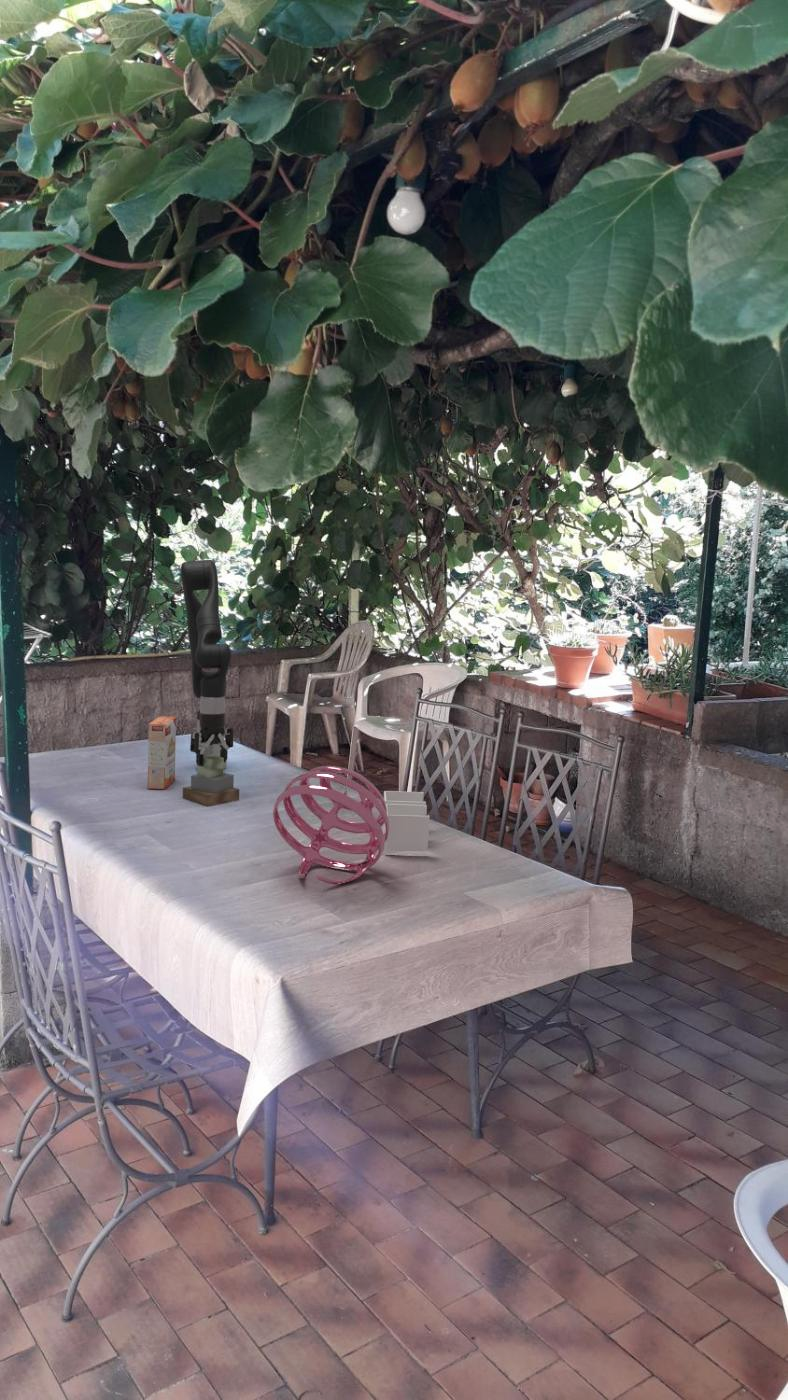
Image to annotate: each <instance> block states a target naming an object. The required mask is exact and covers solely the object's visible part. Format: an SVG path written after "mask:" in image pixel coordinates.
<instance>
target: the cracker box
mask: <svg viewBox="0 0 788 1400" xmlns="http://www.w3.org/2000/svg"><path fill="white" fill-rule="evenodd" d="M176 737H177V717H175V716H165V715H164V716H161V715H160V716H158V717H157V718H155V719H153V720H152V721H151V722H149V723H148V737H147V738H148V739H147V740H148V742H147V743H148V744H147V745H148V747H147V748H148V749H147V752H148V753H147V790H148V789H150V790H161V789H164V790H166V789H167V788H168V787H169V786H170V785H171V784H172V783H173V782H174V781H175V780H176V778H175V777H176V745H177V742H176V741H177V738H176Z"/></svg>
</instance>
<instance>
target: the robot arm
mask: <svg viewBox="0 0 788 1400" xmlns="http://www.w3.org/2000/svg"><path fill="white" fill-rule="evenodd" d="M216 565H217V564H216V563H215V561H214V560H212V559H200V560H199V559H198V560H191V561H185V562H182V563H181V566H180V579H181V584H182V591H183V597H184V602H185V610H186V622H187V633H188V634H187V635H188V636H187V637H188V642H189V650H190V651H189V652H190V656H191V657H190V659H191V677H192V678H191V682H192V692H193V695H194V697H195V698H196V699H199V710H197V712H196V731H191V733H190V747H189V750H190V752H191V753H195V756H196V757H195V760H196V762H195V763H196V764H195V765H196V767H195V768H196V771H197V770H198V766H203V765H204V756H207V755H215V756H219V757H223V758H224V770H225V769H227V760H228V752H229V751H228V750H229V749H230V748H233V747H234V729H233V728H232V727H229V726H226V694H227V674H228V670H229V667H230V664H231V661H232V651H231V649H230V646H228V645H227V644H224V643H221V644H219V642H220V641H222V637H223V633H222V627H221V626H222V625H221V621H220V619H221V618H220V611H219V609H220V608H219V606H220V605H219V604H220V603H219V602H220V598H219V577H218V576H219V575H218V570H217V566H216ZM205 590H207V591H208V593H207V594H206V597H205V599H204V601H203V603H201V602H200V600H199V599H198V598H197V596H196V593H195V591H205ZM204 669H217V670H216V671H204Z"/></svg>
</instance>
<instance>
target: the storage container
mask: <svg viewBox="0 0 788 1400" xmlns="http://www.w3.org/2000/svg"><path fill="white" fill-rule="evenodd" d="M424 793H425V792H423V791H397V790H396V791H395V790H384V791H383V799H384V801H385V804H386V808H387V816H388V819H389V835H388V838H387V840H386V842H385V851H429V830H430V815H429V814H428V815H427V812H428V810H427V809H428V808H427V807H428V806H427V803H426V802H427V801H424V796H425V795H424ZM385 830H386V827H385V823H384V824H383V825H382V831H383V834H384V833H385Z"/></svg>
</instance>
